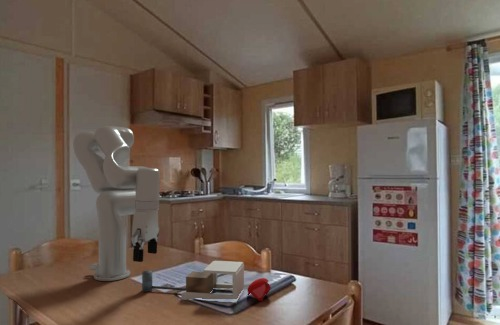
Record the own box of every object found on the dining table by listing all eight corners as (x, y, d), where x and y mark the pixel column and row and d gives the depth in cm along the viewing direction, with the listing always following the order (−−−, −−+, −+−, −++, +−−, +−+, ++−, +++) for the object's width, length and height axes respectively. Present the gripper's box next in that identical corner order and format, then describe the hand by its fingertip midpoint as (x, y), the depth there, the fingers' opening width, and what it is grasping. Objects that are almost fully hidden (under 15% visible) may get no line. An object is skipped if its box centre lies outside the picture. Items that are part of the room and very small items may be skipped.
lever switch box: (181, 299, 107) (181, 268, 107) (193, 287, 118) (193, 259, 118) (236, 303, 104) (236, 271, 104) (244, 290, 115) (243, 262, 115)
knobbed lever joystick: (138, 292, 112) (138, 274, 112) (147, 286, 118) (147, 268, 118) (207, 297, 108) (207, 278, 108) (213, 291, 114) (213, 272, 114)
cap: (275, 284, 111) (260, 273, 113) (272, 284, 105) (256, 271, 107) (260, 306, 109) (245, 294, 112) (257, 307, 104) (241, 294, 106)
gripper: (148, 201, 125) (147, 249, 125) (122, 208, 108) (120, 263, 108) (168, 203, 124) (166, 251, 124) (145, 210, 107) (143, 266, 107)
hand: (145, 257), depth 116 cm, fingers open, 9 cm apart
